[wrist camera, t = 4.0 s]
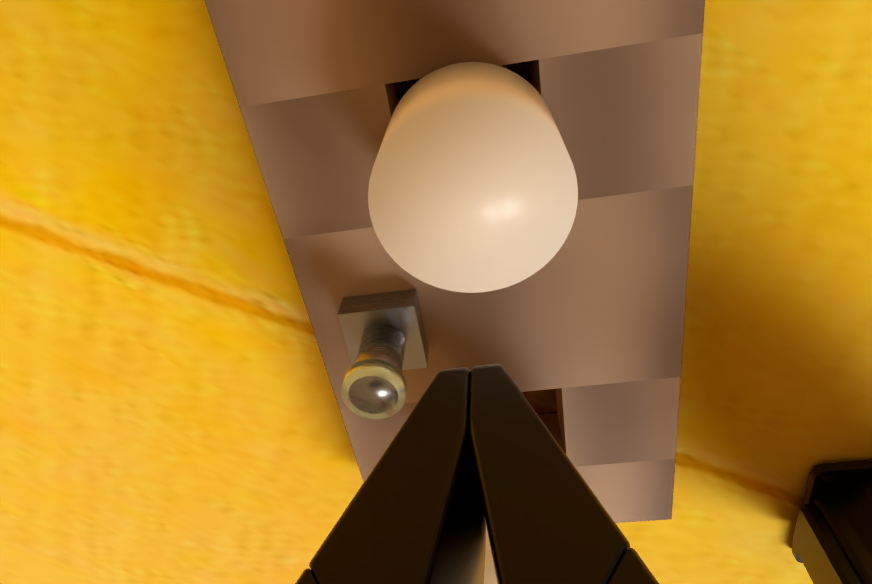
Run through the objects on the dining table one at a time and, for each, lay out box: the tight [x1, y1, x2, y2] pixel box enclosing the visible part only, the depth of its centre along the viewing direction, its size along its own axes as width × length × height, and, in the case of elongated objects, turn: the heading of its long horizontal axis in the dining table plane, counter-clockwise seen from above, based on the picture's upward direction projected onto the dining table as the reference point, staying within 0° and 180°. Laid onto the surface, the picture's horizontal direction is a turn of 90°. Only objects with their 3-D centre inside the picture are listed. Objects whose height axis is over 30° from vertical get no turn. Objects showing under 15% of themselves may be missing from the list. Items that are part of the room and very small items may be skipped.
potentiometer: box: [338, 289, 429, 419], centre depth 18 cm, size 2×2×4 cm
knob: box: [368, 62, 578, 293], centre depth 16 cm, size 5×5×6 cm
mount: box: [205, 0, 705, 523], centre depth 21 cm, size 12×22×3 cm, turn 9°
